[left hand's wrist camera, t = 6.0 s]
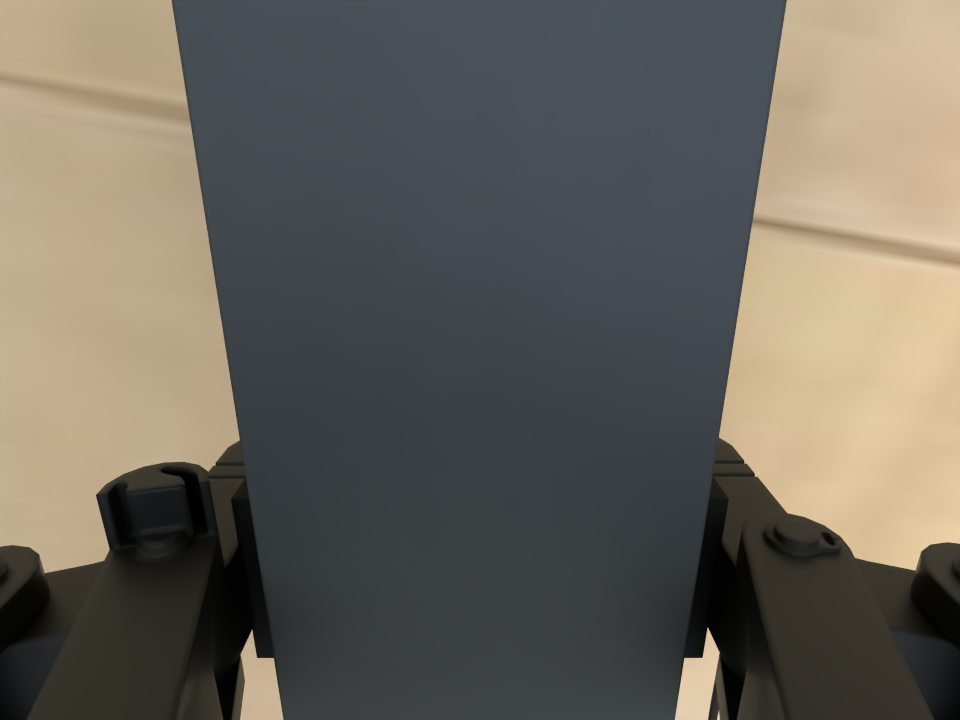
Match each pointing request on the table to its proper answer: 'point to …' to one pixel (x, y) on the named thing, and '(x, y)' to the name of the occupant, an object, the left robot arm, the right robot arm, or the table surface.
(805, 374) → the table surface
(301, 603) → the bar
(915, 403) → the table surface
